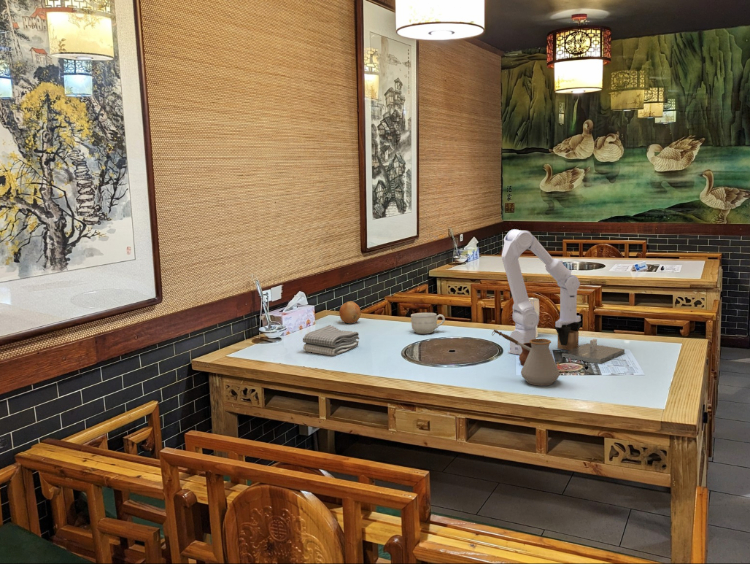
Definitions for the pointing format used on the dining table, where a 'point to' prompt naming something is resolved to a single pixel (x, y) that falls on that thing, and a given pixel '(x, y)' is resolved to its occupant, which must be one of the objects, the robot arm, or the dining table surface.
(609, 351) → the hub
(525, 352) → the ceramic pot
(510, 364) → the dining table surface
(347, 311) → the onion
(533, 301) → the beer glass
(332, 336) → the towel
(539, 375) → the coffee pot
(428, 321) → the teacup
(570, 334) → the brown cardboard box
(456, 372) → the dining table surface
